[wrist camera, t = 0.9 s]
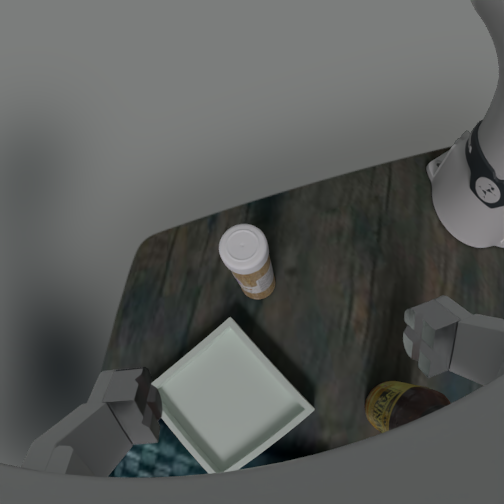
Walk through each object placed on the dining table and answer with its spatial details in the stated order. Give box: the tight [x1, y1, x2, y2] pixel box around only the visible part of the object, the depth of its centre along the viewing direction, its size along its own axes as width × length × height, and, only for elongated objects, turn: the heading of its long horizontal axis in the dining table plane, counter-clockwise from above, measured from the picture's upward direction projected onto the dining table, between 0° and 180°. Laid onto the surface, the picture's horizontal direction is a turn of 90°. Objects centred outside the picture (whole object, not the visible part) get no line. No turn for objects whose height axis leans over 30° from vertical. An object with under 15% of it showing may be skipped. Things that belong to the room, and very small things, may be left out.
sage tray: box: [151, 317, 315, 474], centre depth 36 cm, size 15×15×2 cm
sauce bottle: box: [365, 381, 451, 433], centre depth 25 cm, size 7×6×20 cm
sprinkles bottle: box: [219, 224, 276, 299], centre depth 36 cm, size 5×5×13 cm
